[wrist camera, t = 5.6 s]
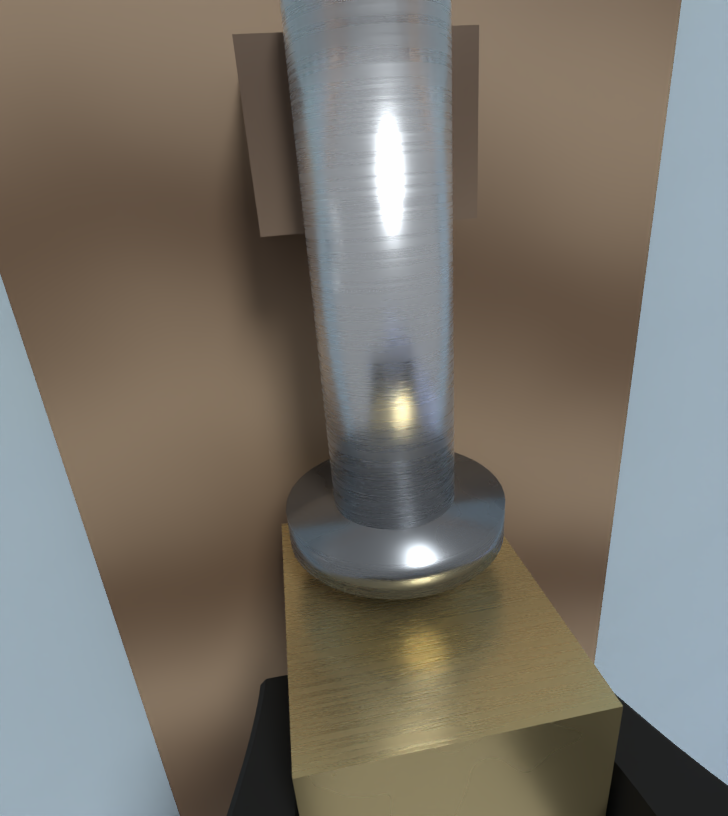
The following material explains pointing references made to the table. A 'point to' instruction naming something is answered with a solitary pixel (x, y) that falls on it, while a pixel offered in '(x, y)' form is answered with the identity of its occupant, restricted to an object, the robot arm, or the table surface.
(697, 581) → the table surface
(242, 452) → the shaft bench
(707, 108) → the table surface
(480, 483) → the shafts
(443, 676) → the wooden block
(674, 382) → the table surface
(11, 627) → the table surface
